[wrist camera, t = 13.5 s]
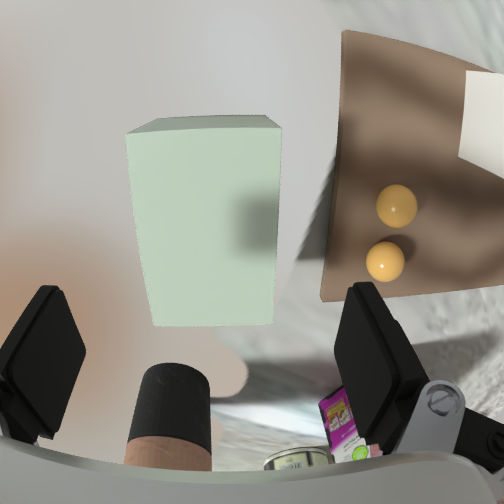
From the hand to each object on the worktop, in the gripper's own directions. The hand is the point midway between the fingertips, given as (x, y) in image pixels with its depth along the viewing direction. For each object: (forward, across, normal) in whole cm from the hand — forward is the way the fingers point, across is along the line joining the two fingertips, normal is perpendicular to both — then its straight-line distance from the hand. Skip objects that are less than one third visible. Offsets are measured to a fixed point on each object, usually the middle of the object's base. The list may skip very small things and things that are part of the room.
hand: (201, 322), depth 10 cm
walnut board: (+14, -19, -1) cm, 24 cm away
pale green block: (+14, 0, +1) cm, 14 cm away
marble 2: (+11, -12, +5) cm, 17 cm away
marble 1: (+11, -12, 0) cm, 16 cm away
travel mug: (+13, +5, +21) cm, 25 cm away
